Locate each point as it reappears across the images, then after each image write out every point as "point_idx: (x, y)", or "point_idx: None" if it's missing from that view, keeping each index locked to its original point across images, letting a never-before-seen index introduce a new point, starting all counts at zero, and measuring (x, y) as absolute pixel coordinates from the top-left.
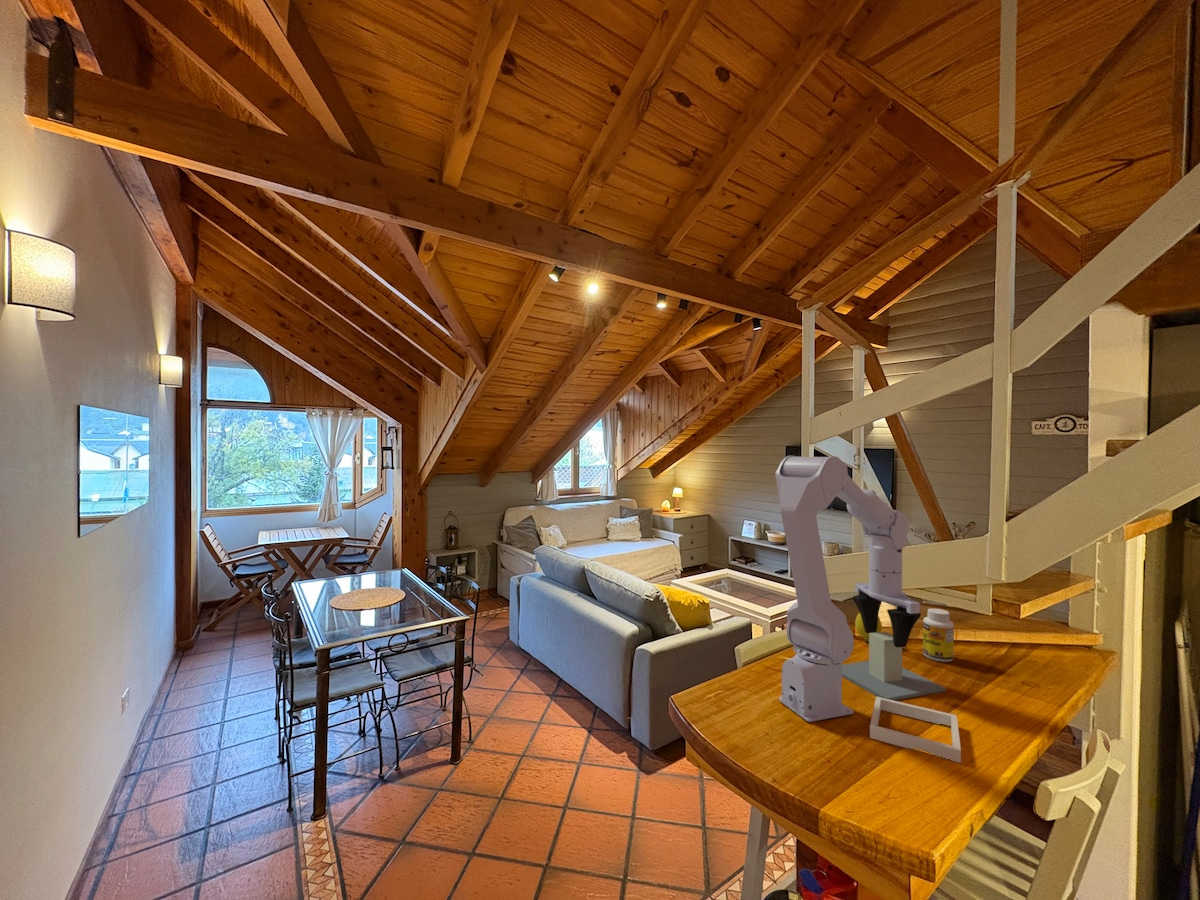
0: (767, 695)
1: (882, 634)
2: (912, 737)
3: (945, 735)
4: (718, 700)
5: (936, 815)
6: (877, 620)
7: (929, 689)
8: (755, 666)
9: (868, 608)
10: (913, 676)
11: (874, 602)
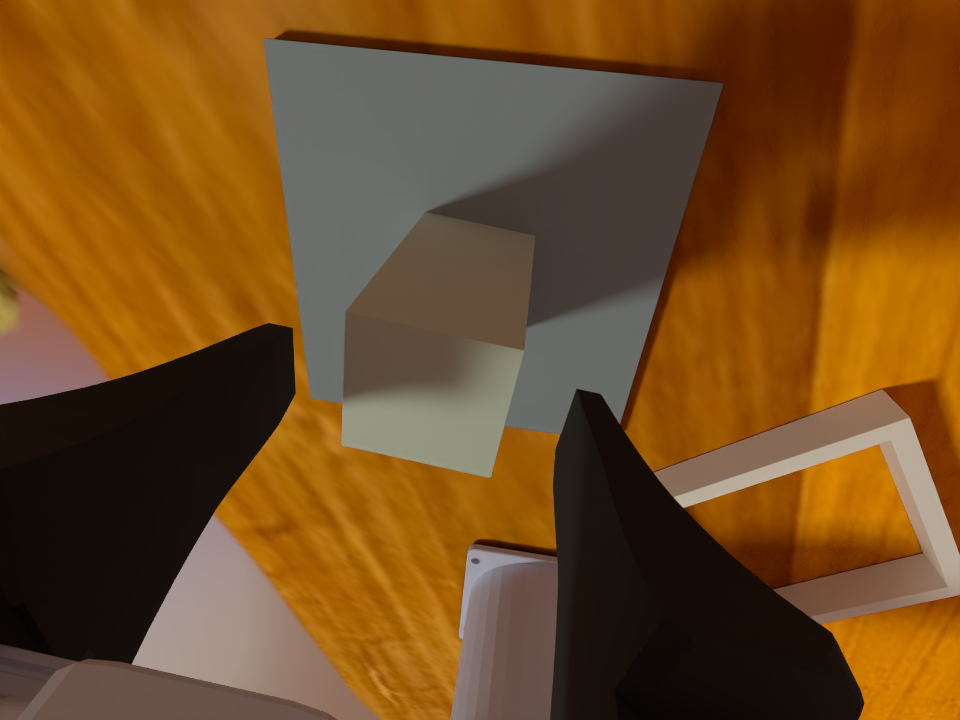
0: (426, 628)
1: (391, 392)
2: (830, 621)
3: (865, 469)
4: (411, 693)
5: (937, 706)
6: (231, 364)
7: (674, 202)
8: (250, 552)
9: (157, 535)
10: (531, 121)
11: (83, 538)
